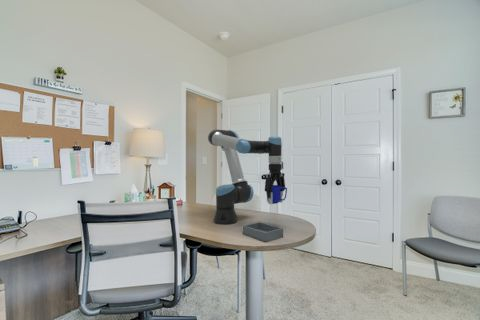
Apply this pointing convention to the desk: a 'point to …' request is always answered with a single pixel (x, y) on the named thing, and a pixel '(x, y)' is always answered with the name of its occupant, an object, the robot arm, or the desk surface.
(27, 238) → the desk surface
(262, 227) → the tray
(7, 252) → the desk surface
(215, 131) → the robot arm
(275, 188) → the mug
